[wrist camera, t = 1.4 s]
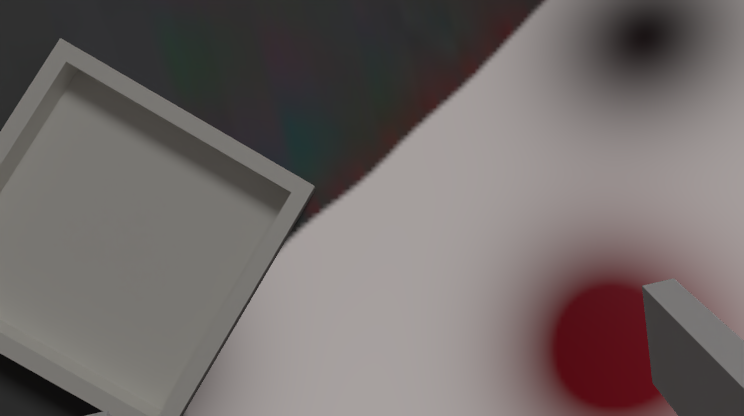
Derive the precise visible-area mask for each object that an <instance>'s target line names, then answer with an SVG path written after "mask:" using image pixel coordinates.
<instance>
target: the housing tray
mask: <svg viewBox="0 0 744 416" xmlns="http://www.w3.org/2000/svg"><path fill="white" fill-rule="evenodd" d="M314 191H315V186H314V185H312V184H310V183H308V182H307V181H305V180H303V179H302V178H300V177H298V176H296V175H295V174H293V173H291V172H289V171H288V170H286V169H284V168H283V167H281V166H279V165H277V164H276V163H274V162H272V161H271V160H269V159H267V158H265V157H264V156H262V155H260V154H259V153H257V152H255V151H253V150H252V149H250V148H248V147H247V146H245V145H243V144H241V143H240V142H238V141H236V140H235V139H233V138H231V137H229V136H228V135H226V134H224V133H223V132H221V131H219V130H217V129H216V128H214V127H212V126H210V125H209V124H207V123H205V122H204V121H202V120H200V119H198V118H197V117H195V116H193V115H192V114H190V113H188V112H186V111H185V110H183V109H181V108H180V107H178V106H176V105H174V104H173V103H171V102H169V101H168V100H166V99H164V98H162V97H161V96H159V95H157V94H156V93H154V92H152V91H150V90H149V89H147V88H145V87H143V86H142V85H140V84H138V83H137V82H135V81H133V80H131V79H130V78H128V77H126V76H125V75H123V74H121V73H119V72H118V71H116V70H114V69H113V68H111V67H109V66H107V65H106V64H104V63H102V62H101V61H99V60H97V59H95V58H94V57H92V56H90V55H89V54H87V53H85V52H83V51H82V50H80V49H78V48H76V47H75V46H73V45H71V44H70V43H68V42H66V41H64V40H63V39H61V38H60V39H59V41H58V43H57V44H56V46H55V47H54V49H53V50H52V52H51V54H50V55H49V57H48V58H47V60H46V61H45V63H44V64H43V66H42V68H41V69H40V71H39V72H38V74H37V75H36V77H35V78H34V80H33V82H32V83H31V85H30V86H29V88H28V89H27V91H26V93H25V94H24V96H23V97H22V99H21V100H20V102H19V103H18V105H17V107H16V108H15V110H14V111H13V113H12V114H11V116H10V118H9V119H8V121H7V122H6V124H5V125H4V127H3V128H2V130H1V132H0V354H2V355H4V356H6V357H8V358H9V359H11V360H13V361H15V362H16V363H18V364H20V365H22V366H24V367H25V368H27V369H29V370H31V371H32V372H34V373H36V374H38V375H39V376H41V377H43V378H45V379H47V380H48V381H50V382H52V383H54V384H55V385H57V386H59V387H61V388H63V389H64V390H66V391H68V392H70V393H71V394H73V395H75V396H77V397H78V398H80V399H82V400H84V401H86V402H87V403H89V404H91V405H93V406H94V407H96V408H98V409H100V410H102V411H107V410H108V411H109V413H110V416H183V414H184V412H185V410H186V409H187V407H188V405H189V404H190V402H191V400H192V399H193V397H194V395H195V393H196V392H197V390H198V388H199V387H200V385H201V383H202V382H203V380H204V378H205V376H206V375H207V373H208V371H209V370H210V368H211V366H212V365H213V363H214V361H215V360H216V358H217V356H218V354H219V353H220V351H221V349H222V348H223V346H224V344H225V343H226V341H227V339H228V337H229V336H230V334H231V332H232V331H233V329H234V327H235V325H236V324H237V322H238V320H239V319H240V317H241V315H242V314H243V312H244V310H245V309H246V307H247V305H248V303H249V302H250V300H251V298H252V297H253V295H254V293H255V292H256V290H257V288H258V286H259V285H260V283H261V281H262V280H263V278H264V276H265V275H266V273H267V271H268V270H269V268H270V266H271V264H272V263H273V261H274V259H275V258H276V256H277V254H278V253H279V251H280V249H281V247H282V246H283V244H284V242H285V241H286V239H287V237H288V236H289V234H290V232H291V231H292V229H293V227H294V225H295V224H296V222H297V220H298V219H299V217H300V215H301V214H302V212H303V210H304V208H305V207H306V205H307V203H308V202H309V200H310V198H311V197H312V195H313V193H314Z"/></svg>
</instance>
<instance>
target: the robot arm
mask: <svg viewBox="0 0 744 416" xmlns="http://www.w3.org/2000/svg"><path fill="white" fill-rule="evenodd" d="M642 289H643V298H644V307H645V317H646V326H647V335H648V345H649V354H650V363H651V372H652V381H653V384H654V385H655V386H656V388H657V389H658V390H659V392H660V393H661V394H662V395H663V397H664V398H665V399H666V401H667V402H668V403H669V404H670V406H671V407H672V408H673V409H674V411H675V412H676V413H677V415H678V416H744V341H743V340H742V339H741V338H740V337H739V336H738V335H737V334H736V333H734V332H733V331H732V330H731V329H730V328H729V327H728V326H727V325H725V324H724V323H723V322H722V321H721V320H720V319H719V318H718V317H717V316H715V315H714V314H713V313H712V312H711V311H710V310H709V309H707V308H706V307H705V306H704V305H703V304H702V303H701V302H700V301H699V300H697V299H696V298H695V297H694V296H693V295H692V294H691V293H690V292H688V291H687V290H686V289H685V288H684V287H683V286H682V285H681V284H679V283H678V282H677V281H676V280H675V279H669V280H665V281H661V282H657V283H652V284H648V285H644V286H642ZM86 416H110V413H109V411H108V410H107V411H103V412H99V413H94V414H90V415H86Z"/></svg>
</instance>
